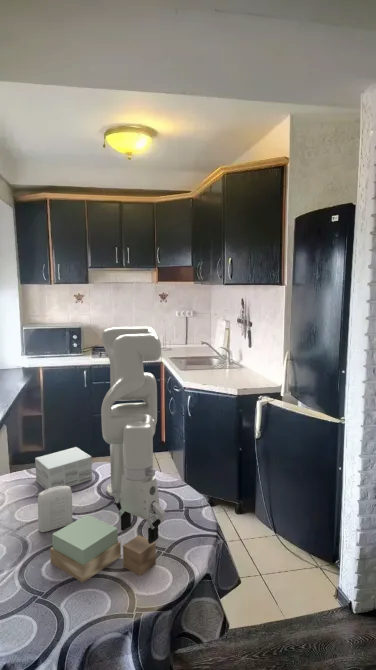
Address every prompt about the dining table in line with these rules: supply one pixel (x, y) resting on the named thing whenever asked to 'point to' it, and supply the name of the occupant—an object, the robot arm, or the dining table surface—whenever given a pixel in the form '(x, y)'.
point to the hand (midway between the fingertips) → (139, 534)
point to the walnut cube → (139, 555)
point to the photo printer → (54, 508)
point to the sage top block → (85, 539)
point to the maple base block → (89, 568)
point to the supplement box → (63, 468)
